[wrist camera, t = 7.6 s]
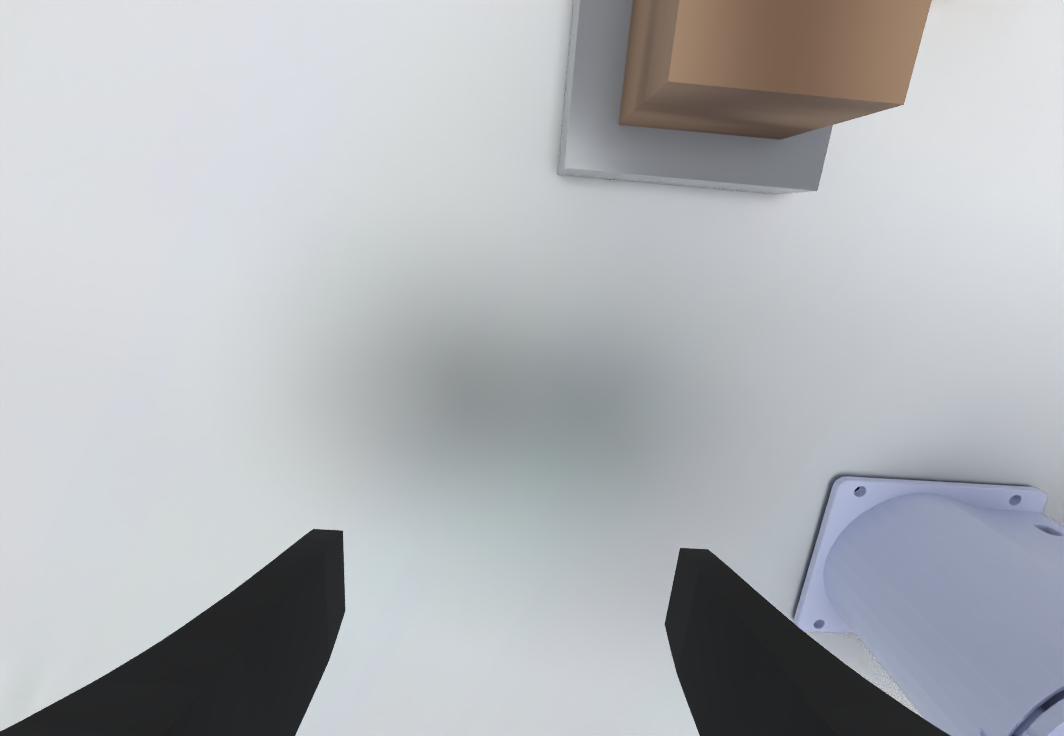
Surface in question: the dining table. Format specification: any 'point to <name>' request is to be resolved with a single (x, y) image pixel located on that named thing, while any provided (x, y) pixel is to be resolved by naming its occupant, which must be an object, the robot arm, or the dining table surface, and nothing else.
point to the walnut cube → (767, 63)
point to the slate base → (656, 152)
